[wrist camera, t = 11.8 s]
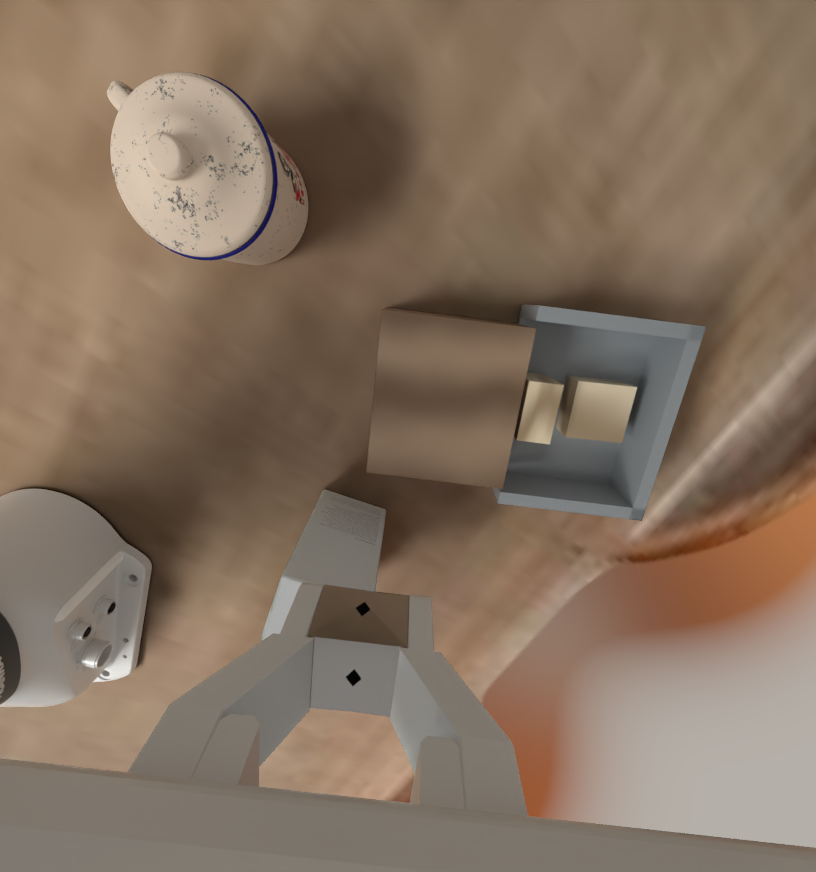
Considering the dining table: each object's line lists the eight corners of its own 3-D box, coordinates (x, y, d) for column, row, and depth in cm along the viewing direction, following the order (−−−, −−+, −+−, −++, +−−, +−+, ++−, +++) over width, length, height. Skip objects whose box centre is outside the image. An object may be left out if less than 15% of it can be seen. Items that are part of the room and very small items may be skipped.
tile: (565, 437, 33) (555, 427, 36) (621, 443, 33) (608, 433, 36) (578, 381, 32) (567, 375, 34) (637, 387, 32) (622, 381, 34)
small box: (362, 576, 42) (338, 695, 29) (300, 557, 41) (249, 669, 29) (389, 508, 39) (375, 605, 27) (323, 486, 39) (278, 574, 26)
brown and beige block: (491, 462, 38) (502, 488, 32) (373, 447, 37) (366, 472, 32) (518, 323, 34) (536, 328, 29) (387, 307, 34) (381, 309, 28)
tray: (614, 492, 38) (641, 520, 33) (488, 477, 38) (497, 503, 33) (665, 322, 34) (706, 326, 29) (522, 304, 33) (539, 305, 29)
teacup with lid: (338, 199, 31) (293, 146, 20) (265, 294, 34) (189, 293, 23) (203, 66, 29) (71, -75, 18) (135, 178, 31) (-21, 114, 20)
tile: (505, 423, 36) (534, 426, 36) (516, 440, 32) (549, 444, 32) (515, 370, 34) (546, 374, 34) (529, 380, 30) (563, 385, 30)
